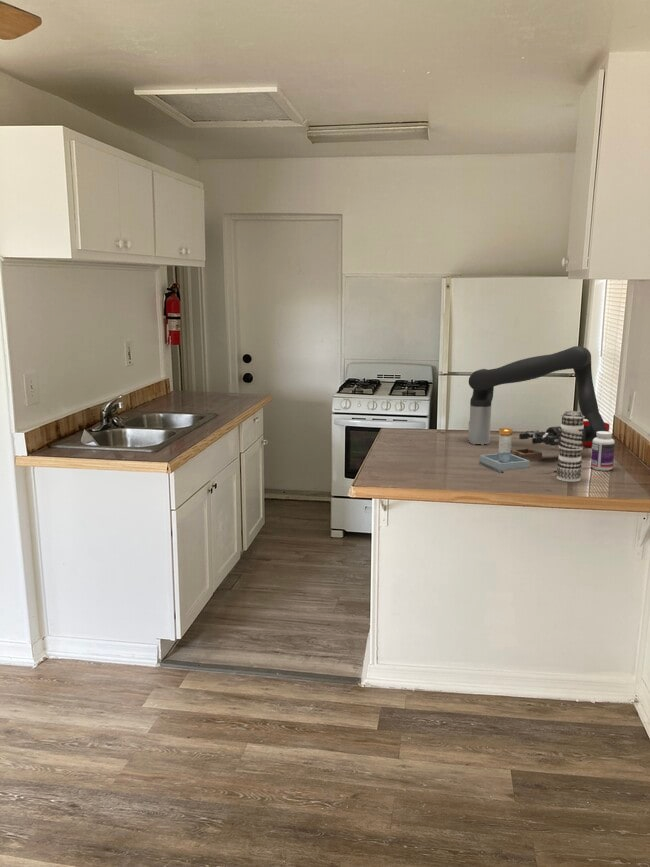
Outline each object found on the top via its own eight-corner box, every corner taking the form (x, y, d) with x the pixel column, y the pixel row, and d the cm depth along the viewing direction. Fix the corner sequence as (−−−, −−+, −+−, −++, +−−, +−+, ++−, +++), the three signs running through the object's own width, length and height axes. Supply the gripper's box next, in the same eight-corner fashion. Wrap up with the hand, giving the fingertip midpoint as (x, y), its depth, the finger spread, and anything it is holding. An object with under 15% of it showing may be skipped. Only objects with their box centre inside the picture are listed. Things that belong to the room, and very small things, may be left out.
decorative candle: (574, 474, 268) (578, 409, 263) (586, 481, 259) (591, 413, 254) (551, 475, 267) (555, 410, 262) (562, 482, 258) (567, 414, 253)
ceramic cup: (566, 446, 314) (567, 424, 311) (586, 441, 324) (587, 419, 322) (594, 451, 304) (595, 429, 302) (613, 445, 315) (615, 423, 313)
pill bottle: (614, 468, 278) (617, 431, 275) (609, 472, 271) (612, 435, 268) (593, 465, 282) (596, 429, 279) (588, 469, 276) (590, 433, 273)
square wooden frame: (509, 459, 292) (510, 449, 291) (528, 457, 295) (528, 448, 294) (522, 464, 284) (523, 454, 283) (541, 462, 287) (542, 452, 286)
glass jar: (494, 463, 282) (496, 428, 279) (506, 462, 283) (507, 427, 280) (502, 466, 277) (503, 431, 274) (513, 465, 279) (515, 430, 276)
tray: (479, 463, 285) (479, 455, 284) (507, 460, 289) (507, 452, 289) (500, 472, 271) (501, 464, 270) (529, 469, 276) (529, 461, 275)
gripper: (549, 423, 292) (516, 426, 287) (572, 429, 279) (537, 432, 274) (548, 441, 294) (515, 444, 289) (571, 448, 281) (536, 451, 275)
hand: (526, 438), depth 281 cm, fingers open, 8 cm apart
